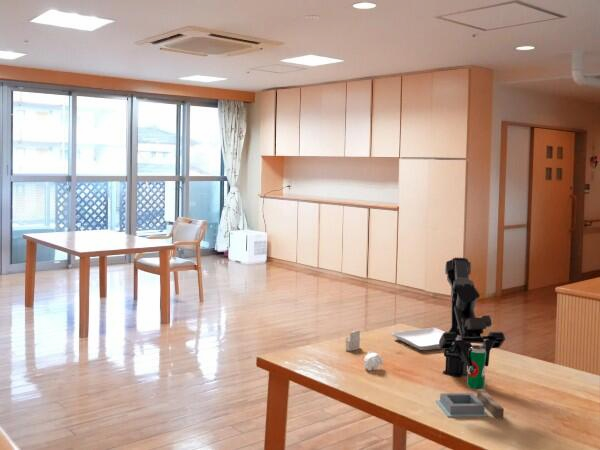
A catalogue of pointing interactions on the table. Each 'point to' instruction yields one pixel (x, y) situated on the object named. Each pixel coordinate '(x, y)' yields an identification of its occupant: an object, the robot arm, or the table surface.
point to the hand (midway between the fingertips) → (478, 366)
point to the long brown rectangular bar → (490, 404)
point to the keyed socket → (461, 405)
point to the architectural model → (353, 341)
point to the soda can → (476, 367)
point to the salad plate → (421, 338)
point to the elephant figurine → (372, 361)
